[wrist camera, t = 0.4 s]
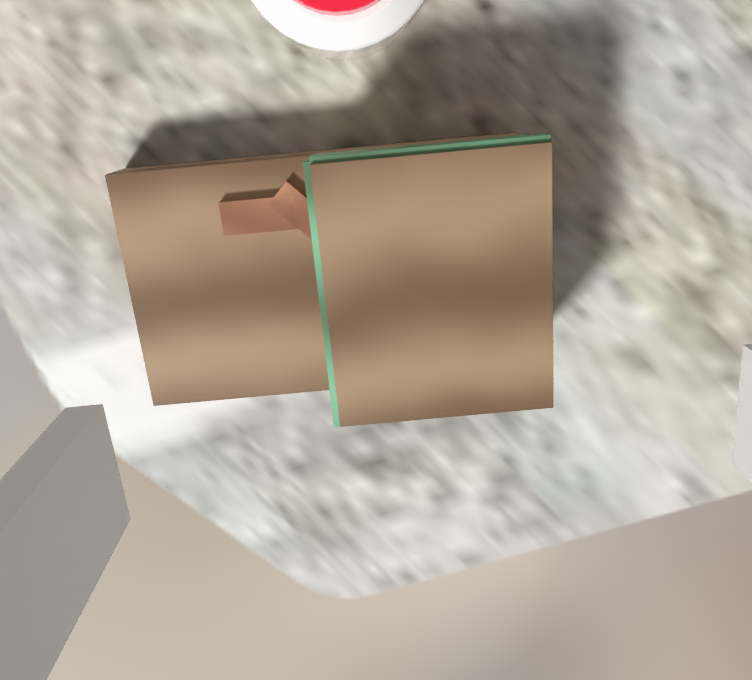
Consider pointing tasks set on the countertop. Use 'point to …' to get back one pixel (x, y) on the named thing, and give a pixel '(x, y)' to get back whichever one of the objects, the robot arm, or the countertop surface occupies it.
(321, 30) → the pill bottle
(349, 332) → the stand
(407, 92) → the countertop surface
